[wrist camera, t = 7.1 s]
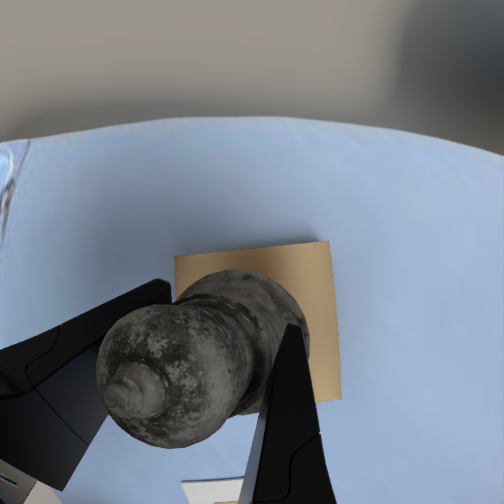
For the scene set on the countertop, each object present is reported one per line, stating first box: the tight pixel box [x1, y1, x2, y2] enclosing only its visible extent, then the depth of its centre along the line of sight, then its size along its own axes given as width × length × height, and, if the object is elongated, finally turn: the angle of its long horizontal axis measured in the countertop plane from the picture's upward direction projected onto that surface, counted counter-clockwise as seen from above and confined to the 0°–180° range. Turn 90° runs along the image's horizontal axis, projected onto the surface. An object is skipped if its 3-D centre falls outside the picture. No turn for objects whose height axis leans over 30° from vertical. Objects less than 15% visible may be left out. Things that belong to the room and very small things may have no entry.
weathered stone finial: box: [96, 270, 310, 449], centre depth 9 cm, size 6×6×12 cm
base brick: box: [175, 241, 341, 402], centre depth 20 cm, size 10×10×3 cm
